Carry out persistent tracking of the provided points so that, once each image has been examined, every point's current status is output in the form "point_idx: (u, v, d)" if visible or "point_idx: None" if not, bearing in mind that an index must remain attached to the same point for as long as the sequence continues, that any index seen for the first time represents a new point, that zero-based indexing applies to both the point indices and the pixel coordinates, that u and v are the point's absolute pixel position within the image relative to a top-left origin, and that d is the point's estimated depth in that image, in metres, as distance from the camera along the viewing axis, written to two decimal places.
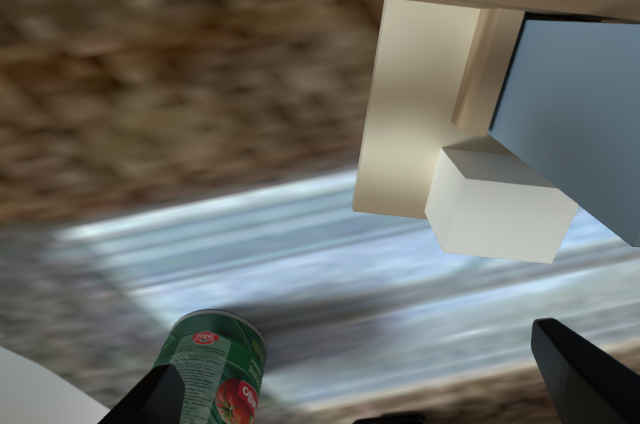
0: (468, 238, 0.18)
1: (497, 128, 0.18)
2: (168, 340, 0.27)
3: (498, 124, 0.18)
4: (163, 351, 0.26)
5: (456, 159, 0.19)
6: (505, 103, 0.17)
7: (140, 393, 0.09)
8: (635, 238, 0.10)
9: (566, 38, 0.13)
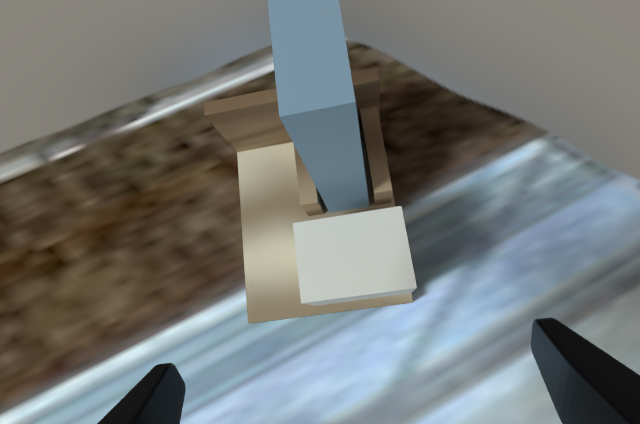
0: (319, 280, 0.18)
1: None
2: None
3: None
4: None
5: None
6: None
7: (140, 393, 0.09)
8: None
9: None
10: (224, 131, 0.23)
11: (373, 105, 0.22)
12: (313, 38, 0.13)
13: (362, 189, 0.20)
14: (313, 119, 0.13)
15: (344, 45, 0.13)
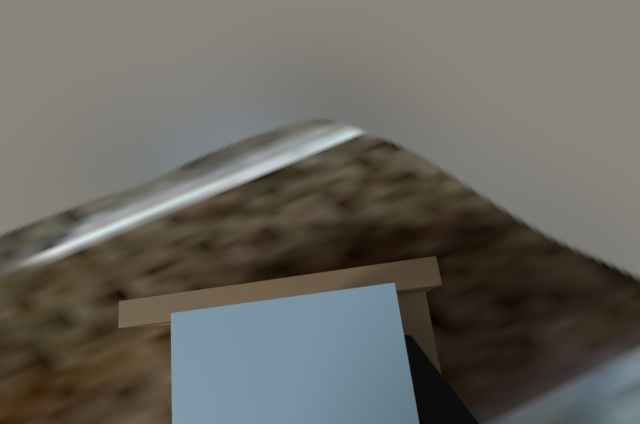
0: None
1: None
2: None
3: None
4: None
5: None
6: None
7: None
8: None
9: None
10: (164, 324, 0.14)
11: (419, 291, 0.13)
12: None
13: None
14: None
15: None
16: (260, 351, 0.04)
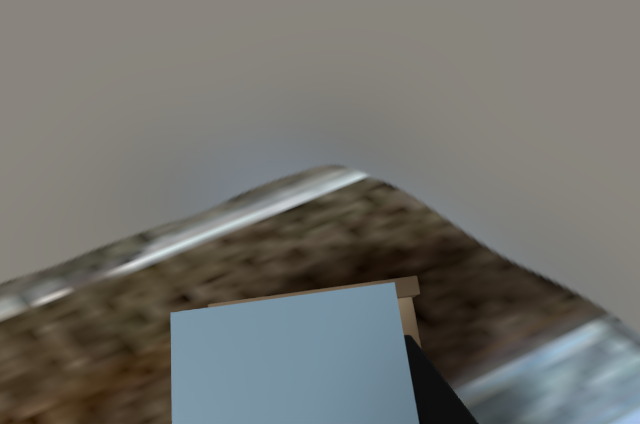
0: None
1: None
2: None
3: None
4: None
5: None
6: None
7: None
8: None
9: None
10: None
11: (407, 297, 0.19)
12: None
13: None
14: None
15: None
16: (261, 349, 0.04)
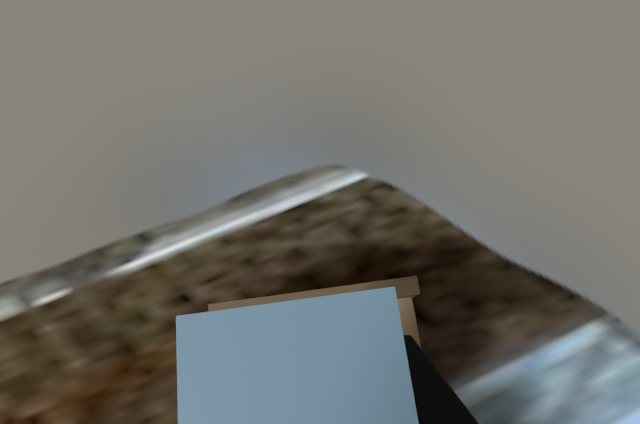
0: None
1: None
2: None
3: None
4: None
5: None
6: None
7: None
8: None
9: None
10: None
11: (407, 297, 0.19)
12: None
13: None
14: None
15: None
16: (264, 353, 0.04)
